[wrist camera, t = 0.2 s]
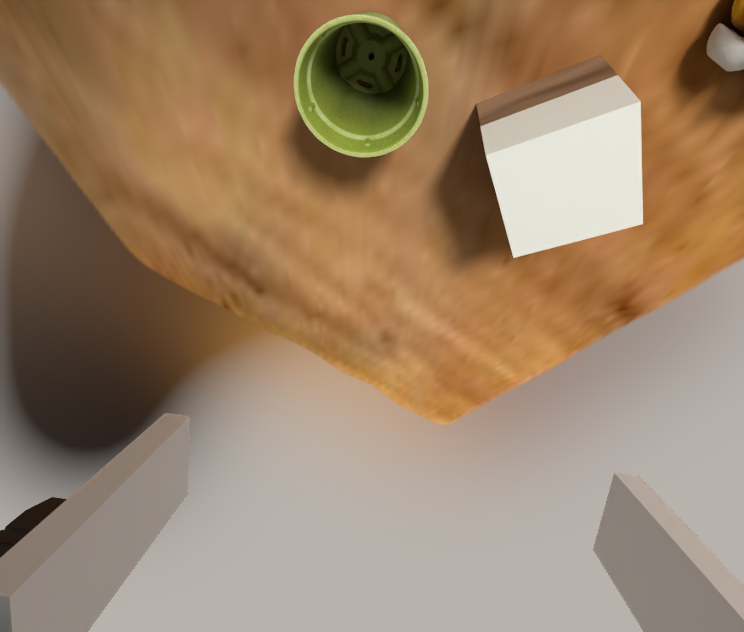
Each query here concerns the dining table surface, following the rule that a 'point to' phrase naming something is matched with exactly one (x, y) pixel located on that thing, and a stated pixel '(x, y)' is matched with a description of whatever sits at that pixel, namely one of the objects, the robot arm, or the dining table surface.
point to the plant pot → (351, 100)
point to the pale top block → (568, 167)
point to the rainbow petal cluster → (728, 41)
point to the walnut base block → (544, 89)
